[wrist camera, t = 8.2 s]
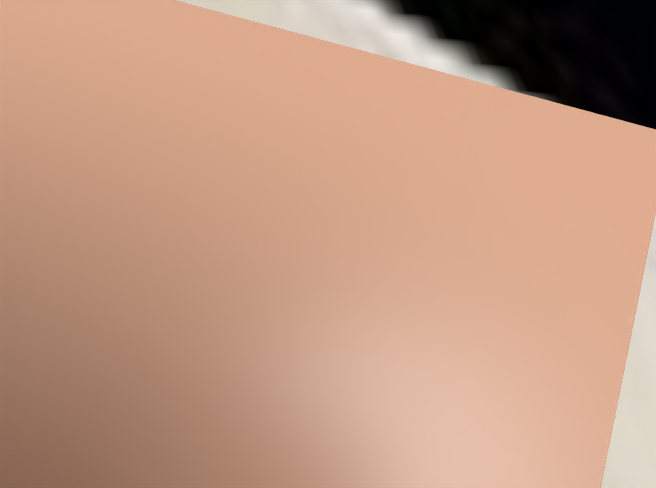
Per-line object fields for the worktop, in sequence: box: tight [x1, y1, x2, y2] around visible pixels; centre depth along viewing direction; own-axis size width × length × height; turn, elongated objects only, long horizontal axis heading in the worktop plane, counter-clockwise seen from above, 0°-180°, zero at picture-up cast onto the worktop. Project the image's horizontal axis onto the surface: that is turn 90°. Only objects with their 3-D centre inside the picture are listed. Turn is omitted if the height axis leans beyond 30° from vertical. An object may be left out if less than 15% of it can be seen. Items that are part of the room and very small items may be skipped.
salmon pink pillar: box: [0, 0, 656, 488], centre depth 8 cm, size 6×6×12 cm
